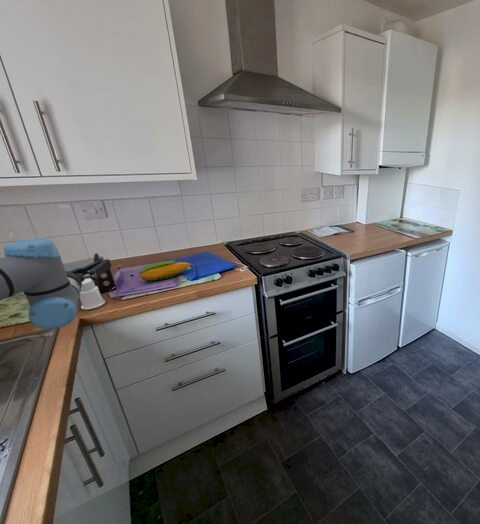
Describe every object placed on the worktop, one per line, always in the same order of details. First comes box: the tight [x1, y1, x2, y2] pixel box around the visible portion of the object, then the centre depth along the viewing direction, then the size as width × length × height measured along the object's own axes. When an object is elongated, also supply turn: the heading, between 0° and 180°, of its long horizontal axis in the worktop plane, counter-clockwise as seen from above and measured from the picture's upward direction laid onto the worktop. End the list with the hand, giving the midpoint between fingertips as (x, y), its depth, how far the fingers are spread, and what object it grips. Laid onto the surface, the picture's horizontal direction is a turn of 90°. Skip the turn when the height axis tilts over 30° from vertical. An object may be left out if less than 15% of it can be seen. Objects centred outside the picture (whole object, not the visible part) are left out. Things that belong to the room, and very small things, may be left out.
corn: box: [139, 260, 192, 282], centre depth 133 cm, size 7×8×20 cm
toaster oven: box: [63, 255, 117, 300], centre depth 119 cm, size 13×16×12 cm
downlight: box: [79, 278, 106, 310], centre depth 110 cm, size 8×7×10 cm
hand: (69, 262), depth 91 cm, fingers open, 13 cm apart
